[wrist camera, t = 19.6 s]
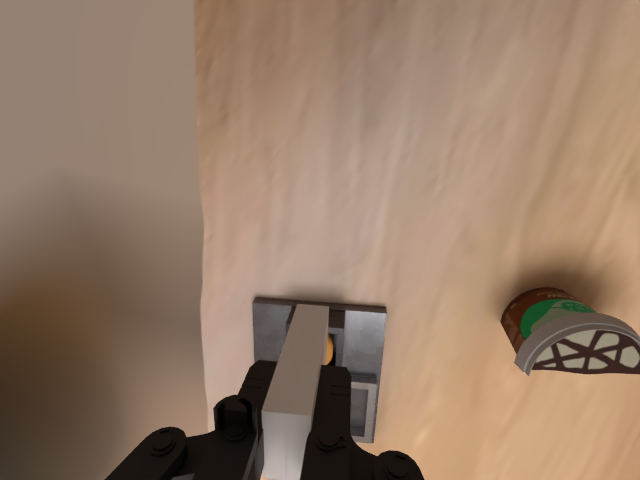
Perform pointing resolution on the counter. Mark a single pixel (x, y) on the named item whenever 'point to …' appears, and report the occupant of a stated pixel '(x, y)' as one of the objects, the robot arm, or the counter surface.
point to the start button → (329, 347)
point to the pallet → (334, 350)
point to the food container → (568, 335)
